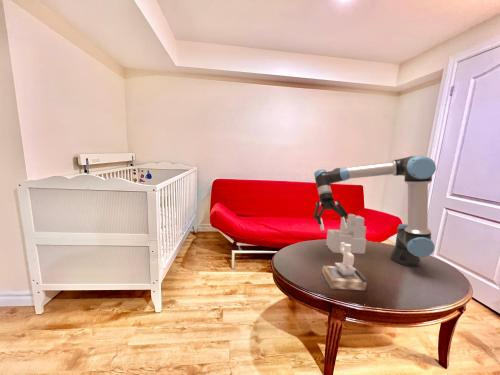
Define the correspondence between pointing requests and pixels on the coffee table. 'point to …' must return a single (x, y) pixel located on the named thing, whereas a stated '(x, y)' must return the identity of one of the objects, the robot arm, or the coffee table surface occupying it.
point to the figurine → (346, 260)
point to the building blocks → (348, 235)
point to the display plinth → (344, 279)
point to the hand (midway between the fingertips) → (334, 229)
